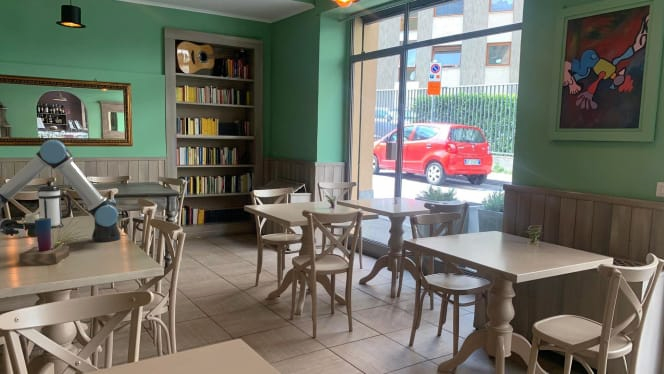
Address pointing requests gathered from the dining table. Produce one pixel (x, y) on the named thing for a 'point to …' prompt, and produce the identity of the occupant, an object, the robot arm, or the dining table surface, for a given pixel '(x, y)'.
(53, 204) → the coffee press
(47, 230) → the cup
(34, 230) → the character mug
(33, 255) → the walnut riser
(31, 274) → the dining table surface
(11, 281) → the dining table surface
